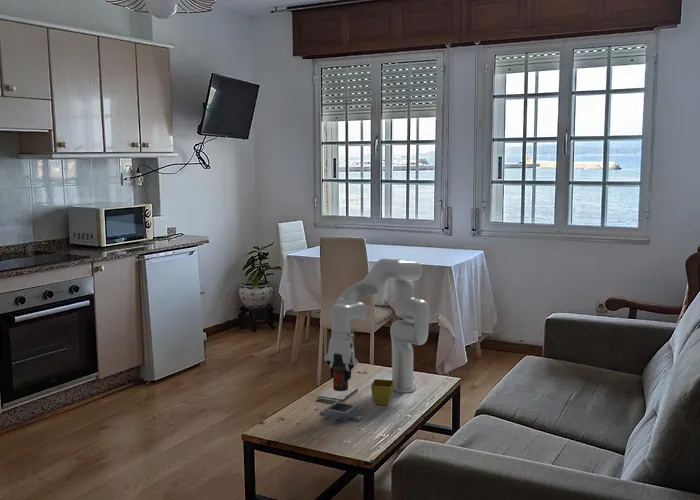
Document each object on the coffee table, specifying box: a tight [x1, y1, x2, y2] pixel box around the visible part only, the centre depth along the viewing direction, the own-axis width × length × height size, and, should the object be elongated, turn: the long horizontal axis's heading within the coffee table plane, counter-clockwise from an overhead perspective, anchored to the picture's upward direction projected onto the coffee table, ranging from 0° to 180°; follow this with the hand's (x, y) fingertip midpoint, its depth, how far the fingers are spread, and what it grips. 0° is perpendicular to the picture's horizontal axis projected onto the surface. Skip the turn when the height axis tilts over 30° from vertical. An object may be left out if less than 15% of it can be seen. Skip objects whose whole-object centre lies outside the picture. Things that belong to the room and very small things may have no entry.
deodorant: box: [332, 354, 349, 391], centre depth 267 cm, size 6×6×15 cm
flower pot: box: [370, 378, 394, 406], centre depth 285 cm, size 9×9×9 cm
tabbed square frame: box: [320, 401, 363, 426], centre depth 270 cm, size 18×18×4 cm
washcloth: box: [317, 386, 359, 404], centre depth 294 cm, size 12×18×3 cm, turn 154°
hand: (340, 377), depth 268 cm, fingers closed on deodorant, 5 cm apart
